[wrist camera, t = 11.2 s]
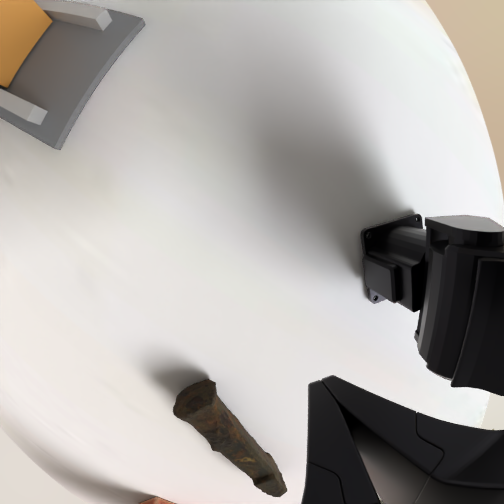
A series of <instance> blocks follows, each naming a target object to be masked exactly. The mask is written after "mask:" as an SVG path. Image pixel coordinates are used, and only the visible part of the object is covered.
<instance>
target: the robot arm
mask: <svg viewBox="0 0 504 504" xmlns="http://www.w3.org/2000/svg"><path fill="white" fill-rule="evenodd" d="M416 218H417V221H416ZM425 226H426V230H425V229H423V225H422V217H421V215H419V214H412V215H409V216H405V217H402V218H399V219H395V220H392V221H389V222H385V223H382V224H379V225H375V226H372V227H368V228H365V229H363V230H362V232H361V240H362V247H363V254H364V256H363V266H364V274H365V282H366V286H367V287H368V296H369V301H370V302H372V303H374V304H375V303H378V302H381V301H383V300H385V299H388V300H389V301H391V302H393V303H397V302H398V303H399V304H401V305H403V306H404V307H406V308H408V309H409V310H411V311H412V312H416V311H418V310H420V313H419V320H418V326H417V330H416V331H415V336H414V338H415V340H416V341H417V343H418V344H417V347H418V351H419V354H420V355H421V356H422V358H423V359H424V360H425V361H426V362H427V365H426V367H427V368H428V369H429V370H430V371H431V372H433V373H434V374H436V375H438V376H440V377H442V378H444V379H447V380H452V382H451V387H471V388H479V389H482V390H486V391H489V392H491V393H494V394H497V395H500V396H504V227H502V226H501V225H499V224H498V223H496V222H495V221H493V220H492V219H490V218H487V217H478V216H470V215H456V216H440V217H426V218H425ZM367 233H369V236H368V237H367V238H366V234H367ZM374 296H376V297H375V299H373V298H374ZM376 492H377V493H378V495H379V496H380V498H381V499H382V501H383V502H384V504H504V430H486V429H480V428H474V427H469V426H464V425H459V424H454V423H450V422H446V421H442V420H439V419H436V418H433V417H430V416H427V415H424V414H422V413H419V412H417V413H416V411H414V410H411V409H409V408H406V407H404V406H401V405H399V404H397V403H394V402H392V401H389V400H387V399H385V398H382V397H380V396H378V395H376V394H373V393H371V392H369V391H366V390H364V389H362V388H360V387H358V386H355V385H353V384H351V383H349V382H347V381H345V380H343V379H340V378H338V377H336V376H334V375H331V376H328V377H326V378H323V379H322V380H321V381H320V380H318V381H315V382H312V383H310V384H309V385H308V440H307V464H306V479H305V488H304V493H303V498H302V502H301V504H381V502H380V500H379V497H378V495H377V493H376Z"/></svg>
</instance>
